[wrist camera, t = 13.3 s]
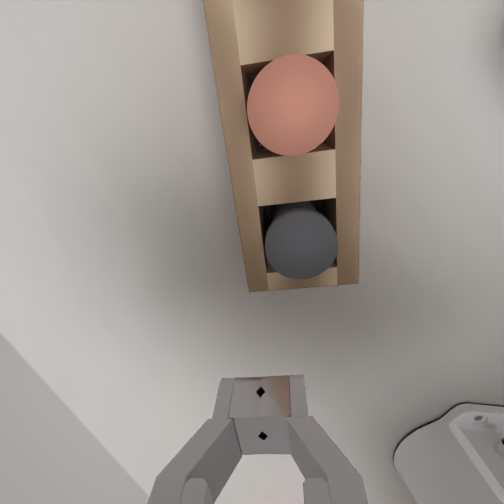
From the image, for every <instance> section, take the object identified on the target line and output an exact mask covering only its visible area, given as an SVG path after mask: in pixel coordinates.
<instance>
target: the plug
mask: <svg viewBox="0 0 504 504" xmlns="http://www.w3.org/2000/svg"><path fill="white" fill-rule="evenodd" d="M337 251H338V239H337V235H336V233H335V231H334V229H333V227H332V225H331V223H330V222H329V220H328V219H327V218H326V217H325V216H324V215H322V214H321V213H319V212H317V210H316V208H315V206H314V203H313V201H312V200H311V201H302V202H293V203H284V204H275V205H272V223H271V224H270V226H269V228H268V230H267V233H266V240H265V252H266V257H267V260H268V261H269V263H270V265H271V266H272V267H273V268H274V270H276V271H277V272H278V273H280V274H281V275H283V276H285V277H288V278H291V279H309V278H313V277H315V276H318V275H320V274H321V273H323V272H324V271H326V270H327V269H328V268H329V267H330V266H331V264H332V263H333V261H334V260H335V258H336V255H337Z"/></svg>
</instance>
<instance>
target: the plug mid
mask: <svg viewBox="0 0 504 504" xmlns="http://www.w3.org/2000/svg"><path fill="white" fill-rule="evenodd" d="M338 111H339V93H338V88H337V85H336V82H335V80H334V78H333V76H332V74H331V73H330V71H329V70H328V69H327V68H326V67H325V66H324V65H323V64H322V63H321V62H319V61H318V60H316V59H314V58H312V57H310V56H306V55H302V54H290V55H285V56H282V57H279V58H277V59H275V60H273V61H272V62H270V63H269V64H268V65H266V66H265V67H264V68H263V69H262V70H261V71H260V73H259V74H258V75H257V76H256V78H255V80H254V82H253V84H252V86H251V88H250V92H249V95H248V101H247V115H248V121H249V124H250V127H251V129H252V132H253V133H254V135H255V137H256V138H257V139H258V141H259V142H260V143H261V144H262V145H263V146H264V147H266V148H267V149H268V150H270V151H272V152H274V153H277V154H280V155H284V156H296V155H301V154H304V153H307V152H309V151H311V150H313V149H315V148H316V147H318V146H319V145H320V144H321V143H322V142H323V141H324V140H325V139H326V138H327V137H328V135H329V134H330V132H331V131H332V129H333V127H334V125H335V122H336V119H337V116H338Z"/></svg>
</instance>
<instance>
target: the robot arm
mask: <svg viewBox="0 0 504 504" xmlns="http://www.w3.org/2000/svg"><path fill="white" fill-rule="evenodd" d="M266 453H267V454H292V457H293V459H294V460H295V462H296V464H297V466H298V467H299V469H300V471H301V473H302V474H303V476H304V478H305V479H306V480H305V482H304V483H303V491H304V504H368V501H367V497H366V492H365V488H364V484H363V480H362V477H361V475H360V474H359V473H358V472H357V470H356V469H355V468H354V467H353V465H352V464H351V463H350V462H349V461H348V459H347V458H346V457H345V456H344V454H343V453H342V452H341V451H340V449H339V448H338V447H337V446H336V444H335V443H334V442H333V441H332V440H331V438H330V437H329V436H328V435H327V433H326V432H325V431H324V430H323V428H322V427H321V426H320V425H319V424H318V422H317V421H316V420H315V419H314V417H313V416H308V410H307V400H306V391H305V381H304V375H290V376H289V375H284V376H267V377H244V378H222V380H221V381H220V385H219V389H218V394H217V399H216V403H215V408H214V413H213V417H212V419H208V420H207V421H206V422H205V423H204V424H203V425H202V427H201V428H200V429H199V430H198V431H197V432H196V433H195V434H194V436H193V437H192V438H191V439H190V440H189V441H188V442H187V443H186V445H185V446H184V447H183V448H182V449H181V450H180V451H179V452H178V453H177V455H176V456H175V457H174V458H173V459H172V460H171V461H170V462H169V464H168V465H167V466H166V467H165V468H164V469H163V470H162V471H161V473H160V474H159V475H158V476H157V477H156V480H155V483H154V486H153V489H152V492H151V495H150V498H149V501H148V504H214V502H215V501H216V499H217V497H218V496H219V494H220V492H221V491H222V489H223V487H224V486H225V484H226V482H227V481H228V479H229V477H230V476H231V474H232V472H233V471H234V469H235V467H236V466H237V464H238V462H239V461H240V459H241V457H242V455H251V454H266ZM394 465H395V468H396V471H397V472H398V474H399V475H400V476H401V478H402V479H403V481H404V483H405V484H406V486H407V487H408V489H409V491H410V493H411V494H412V496H413V498H414V500H415V501H416V503H417V504H504V407H498V406H488V405H478V404H461V405H458V406H456V407H455V408H453V409H452V410H451V411H449V412H448V413H447V414H446V415H445V416H443V417H442V418H441V419H439V420H438V421H435V422H433V423H431V424H429V425H426V426H424V427H422V428H420V429H418V430H416V431H415V432H413V433H412V434H410V435H409V436H408V437H407V438H405V439H404V440H403V441H402V443H401V444H400V445H399V447H398V448H397V450H396V452H395V455H394Z"/></svg>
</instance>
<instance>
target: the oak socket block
mask: <svg viewBox="0 0 504 504" xmlns="http://www.w3.org/2000/svg"><path fill="white" fill-rule="evenodd" d="M203 3H204V10H205V16H206V22H207V29H208V35H209V41H210V48H211V54H212V60H213V67H214V73H215V79H216V86H217V92H218V98H219V105H220V111H221V117H222V124H223V130H224V136H225V143H226V149H227V155H228V162H229V168H230V174H231V181H232V187H233V193H234V200H235V206H236V212H237V219H238V225H239V231H240V238H241V244H242V250H243V257H244V263H245V269H246V276H247V282H248V288H249V292H256V291H269V290H282V289H295V288H308V287H320V286H333V285H346V284H358V275H359V222H360V170H361V117H362V65H363V12H364V0H203ZM290 54H302V55H306V56H310V57H312V58H314V59H316V60H318V61H319V62H321V63H322V64H323V65H324V66H325V67H326V68H327V69H328V70H329V71H330V73H331V74H332V76H333V78H334V80H335V82H336V85H337V88H338V93H339V111H338V116H337V119H336V122H335V125H334V127H333V129H332V131H331V132H330V134H329V135H328V137H327V138H326V139H325V140H324V141H323V142H322V143H321V144H320V145H319V146H318V147H316V148H315V149H313V150H311V151H309V152H307V153H304V154H301V155H296V156H284V155H280V154H277V153H274V152H272V151H270V150H268V149H267V148H266V147H264V146H263V145H262V146H259V145H258V139H257V138H256V137H255V135H254V133H253V132H252V129H251V127H250V124H249V121H248V115H247V101H248V95H249V92H250V88H251V86H252V85H251V82H254V80H255V78H256V76H257V75H258V74H259V73H260V71H261V70H262V69H263V68H264V67H265V66H266V65H268V64H269V63H270V62H272V61H273V60H275V59H277V58H279V57H282V56H285V55H290ZM311 200H318V212H319V213H321V214H322V215H324V216H325V217H326V218H327V219H328V220H329V222H330V223H331V225H332V227H333V229H334V231H335V233H336V235H337V239H338V251H337V255H336V258H335V260H334V261H333V263H332V264H331V266H330V267H329V268H328V269H327V270H326V271H324V272H323V273H321V274H320V275H318V276H315V277H313V278H309V279H291V278H288V277H285V276H283V275H281V274H280V273H278V272H277V271H276V270H274V268H273V267H272V266H271V265H270V263H269V261H268V260H267V257H266V252H265V240H266V233H267V230H268V224H267V215H266V205H275V204H284V203H293V202H302V201H311Z"/></svg>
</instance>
